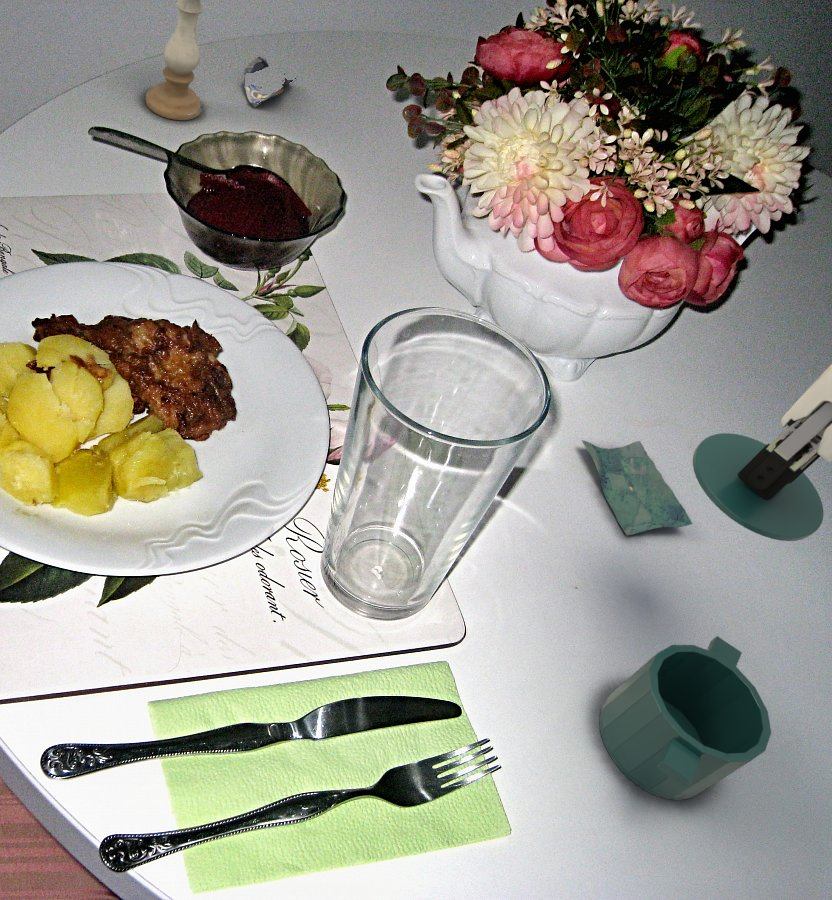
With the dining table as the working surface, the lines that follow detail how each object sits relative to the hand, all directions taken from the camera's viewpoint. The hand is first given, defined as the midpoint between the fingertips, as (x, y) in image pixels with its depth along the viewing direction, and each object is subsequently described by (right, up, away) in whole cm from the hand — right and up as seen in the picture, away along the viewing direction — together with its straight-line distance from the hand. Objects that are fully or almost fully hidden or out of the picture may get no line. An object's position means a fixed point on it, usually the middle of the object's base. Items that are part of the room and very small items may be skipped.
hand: (764, 478), depth 77 cm
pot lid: (0, -1, +1) cm, 1 cm away
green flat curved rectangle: (-1, -2, +26) cm, 26 cm away
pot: (-8, -24, +4) cm, 26 cm away
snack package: (-41, +61, +71) cm, 102 cm away
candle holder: (-55, +55, +62) cm, 99 cm away
